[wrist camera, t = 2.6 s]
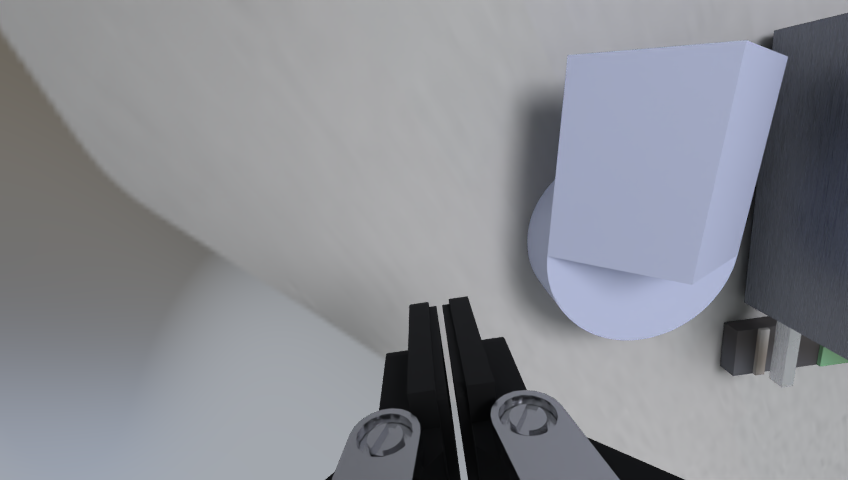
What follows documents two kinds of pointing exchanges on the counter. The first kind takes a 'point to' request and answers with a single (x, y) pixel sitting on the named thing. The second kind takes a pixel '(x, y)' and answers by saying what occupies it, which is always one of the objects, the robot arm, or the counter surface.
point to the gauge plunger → (804, 198)
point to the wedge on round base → (652, 182)
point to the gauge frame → (765, 348)
